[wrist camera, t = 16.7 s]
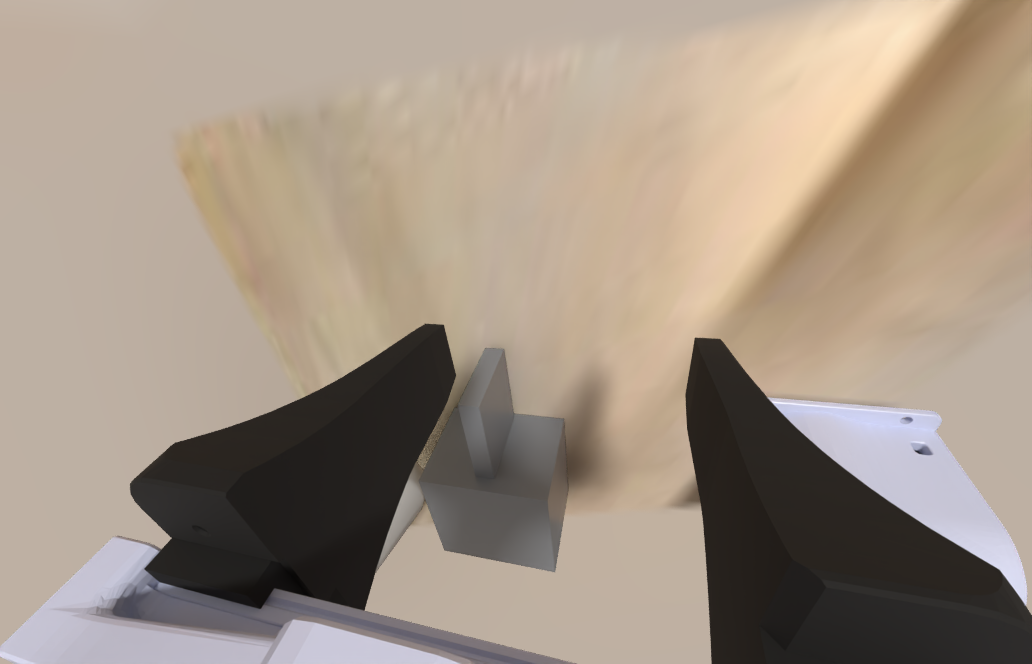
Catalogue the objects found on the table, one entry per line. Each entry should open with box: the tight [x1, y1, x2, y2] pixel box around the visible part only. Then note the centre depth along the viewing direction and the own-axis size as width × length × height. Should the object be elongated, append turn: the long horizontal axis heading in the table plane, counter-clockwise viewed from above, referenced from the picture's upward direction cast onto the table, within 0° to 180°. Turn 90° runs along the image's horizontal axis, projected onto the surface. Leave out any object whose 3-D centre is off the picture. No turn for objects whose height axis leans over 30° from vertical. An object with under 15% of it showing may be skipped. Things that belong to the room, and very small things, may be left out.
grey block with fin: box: [419, 348, 568, 572], centre depth 28 cm, size 14×8×6 cm, turn 5°
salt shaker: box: [375, 462, 425, 573], centre depth 32 cm, size 6×6×13 cm
